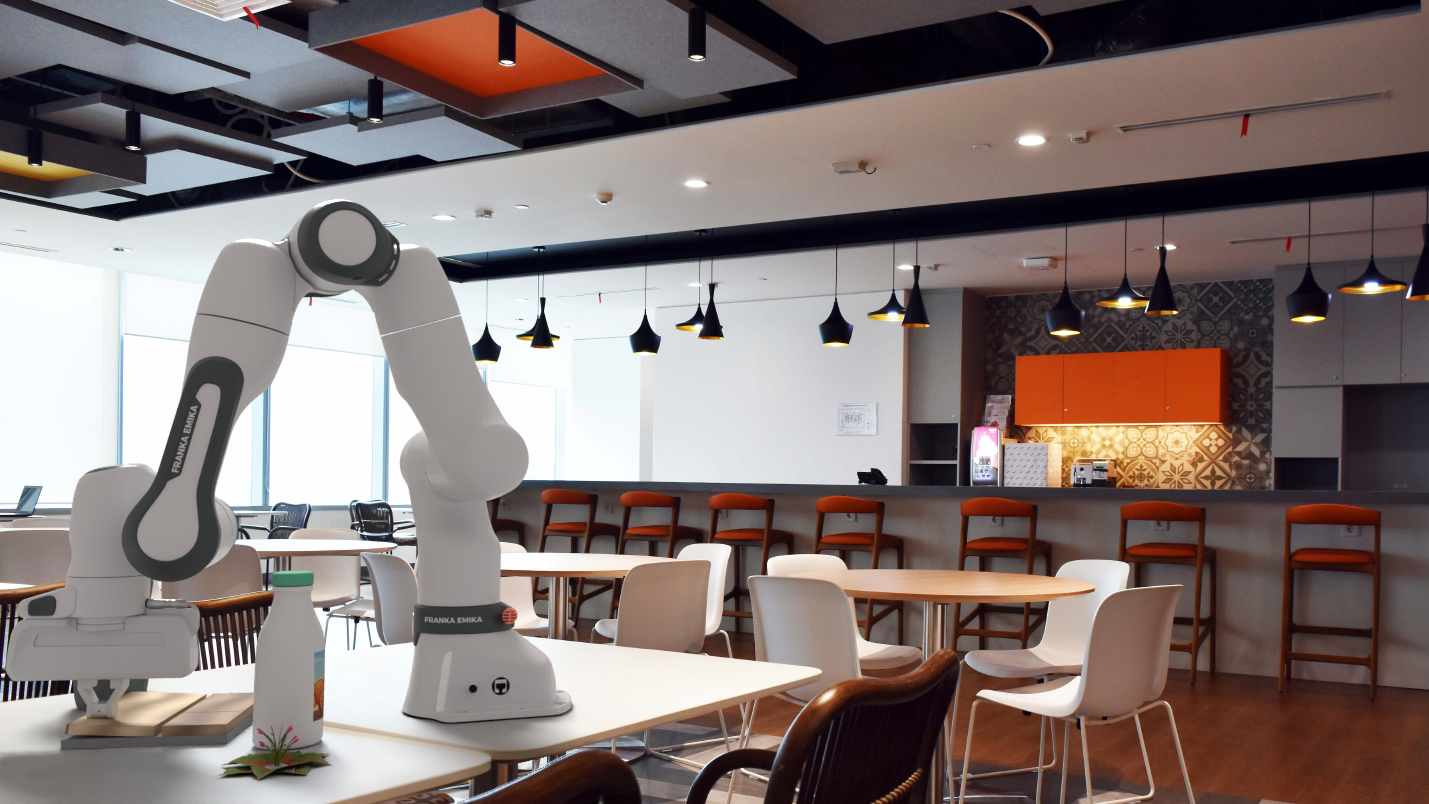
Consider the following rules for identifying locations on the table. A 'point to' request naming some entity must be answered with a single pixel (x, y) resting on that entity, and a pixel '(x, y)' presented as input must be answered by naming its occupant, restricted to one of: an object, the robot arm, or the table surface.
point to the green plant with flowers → (275, 758)
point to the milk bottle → (290, 666)
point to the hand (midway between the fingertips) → (101, 717)
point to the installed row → (212, 715)
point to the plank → (137, 715)
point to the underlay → (150, 739)
